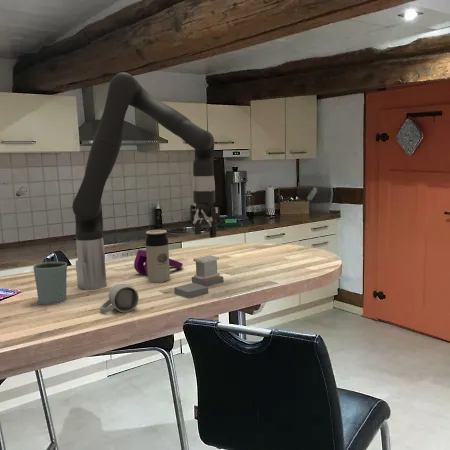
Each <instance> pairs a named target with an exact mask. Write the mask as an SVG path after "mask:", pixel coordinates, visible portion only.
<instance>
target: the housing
mask: <svg viewBox="0 0 450 450" xmlns="http://www.w3.org/2000/svg"><path fill="white" fill-rule="evenodd" d="M192 260H193V262H195V271H196V272H195V273H196V274H193V277H196V278H199V279H202V280H203V279H207V278H211V277H216V276H221V275H220V273H219V272H218V260H220V257H219V256H215V255H212V254H211V255H205V256H200V257H195V258H193V259H192Z"/></svg>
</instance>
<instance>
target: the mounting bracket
mask: <svg viewBox="0 0 450 450" xmlns="http://www.w3.org/2000/svg"><path fill="white" fill-rule="evenodd" d="M183 264H184V263H182V262H180V261H177V260H174V259H172V258H169V267H170V268H171V267H172V268H175V269H179V270H182V267H183ZM133 267H134V271H136V272H137V273H138V274H142V275H148V270H147V254H146V250H142V249H138V250H137V252H136V256H135V259H134V262H133Z"/></svg>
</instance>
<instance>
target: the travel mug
mask: <svg viewBox="0 0 450 450" xmlns="http://www.w3.org/2000/svg"><path fill="white" fill-rule="evenodd" d="M167 232H168V230H166V229H152V230H150V229H149V230H147V231H146V232H145V233H146V240H145V251H146V254H147V270H148V274H147V280H148V281H149V282H151V283H164V282H167V281H169V280H170V279H171V270H170V268H171V267H170V266H169V259H170V255H169V239H168V237H167Z"/></svg>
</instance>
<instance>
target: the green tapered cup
mask: <svg viewBox="0 0 450 450" xmlns="http://www.w3.org/2000/svg"><path fill="white" fill-rule="evenodd" d="M32 269H33V274H34V281H35V284H36V293H37V301H38V304H39V305H41V304H42V305H43V306H52V304H53V305H57V304H58V303H59V304H62V303H64V302H66V301H67V285H68V284H67V278H68V275H67V273H68V272H67V271H68V263H67V262H65V261H45V262H40V263H36V264H34V265H33V266H32ZM65 300H66V301H65ZM61 302H62V303H61ZM42 305H41V306H42Z"/></svg>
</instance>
